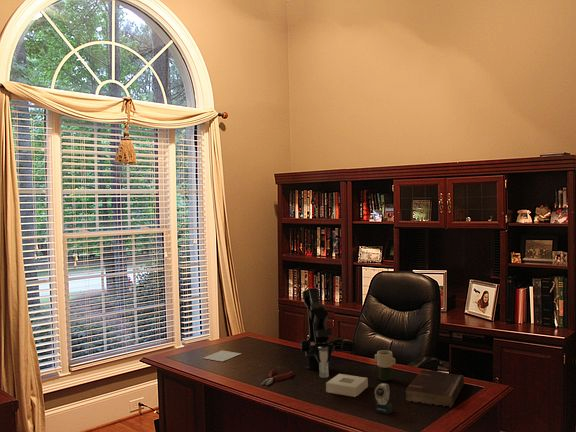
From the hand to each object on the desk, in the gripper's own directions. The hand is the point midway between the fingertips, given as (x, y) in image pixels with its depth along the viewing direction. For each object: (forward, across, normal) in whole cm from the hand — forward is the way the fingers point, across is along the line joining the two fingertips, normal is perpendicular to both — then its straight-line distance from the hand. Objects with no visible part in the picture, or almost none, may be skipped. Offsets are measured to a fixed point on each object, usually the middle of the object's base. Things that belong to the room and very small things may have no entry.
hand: (324, 362), depth 235 cm
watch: (+27, +20, -8) cm, 34 cm away
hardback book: (+15, +48, +5) cm, 50 cm away
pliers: (-6, -22, +26) cm, 34 cm away
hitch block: (+8, +10, +11) cm, 17 cm away
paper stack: (-31, -47, +51) cm, 76 cm away
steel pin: (+4, 0, +6) cm, 7 cm away
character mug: (+1, +30, +18) cm, 35 cm away
